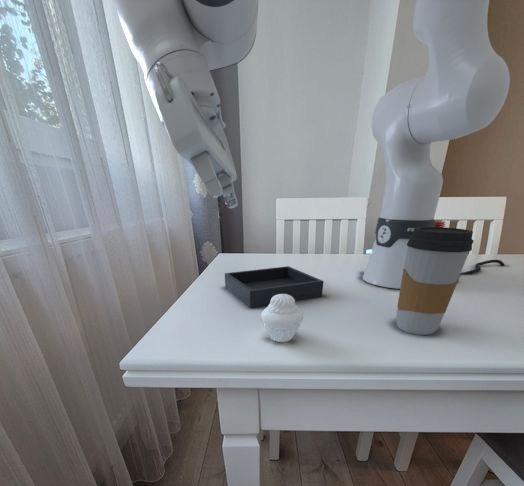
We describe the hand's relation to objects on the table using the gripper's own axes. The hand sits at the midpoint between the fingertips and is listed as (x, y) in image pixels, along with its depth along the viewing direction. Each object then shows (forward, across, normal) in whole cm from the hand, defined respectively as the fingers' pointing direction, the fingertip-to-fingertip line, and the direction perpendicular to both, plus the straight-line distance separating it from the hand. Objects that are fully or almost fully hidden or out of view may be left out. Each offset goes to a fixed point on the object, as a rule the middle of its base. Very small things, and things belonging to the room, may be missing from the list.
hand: (226, 201), depth 44 cm
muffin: (+22, -4, -1) cm, 22 cm away
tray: (+16, +18, +1) cm, 24 cm away
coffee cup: (+29, +3, -21) cm, 36 cm away
